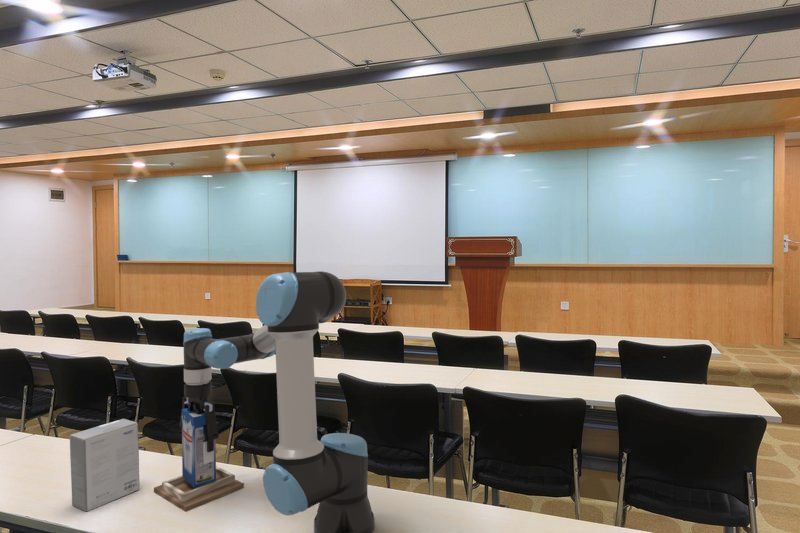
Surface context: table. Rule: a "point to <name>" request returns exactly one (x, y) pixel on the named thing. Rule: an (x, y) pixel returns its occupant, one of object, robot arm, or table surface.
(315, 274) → the robot arm
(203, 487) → the walnut board
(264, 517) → the table surface
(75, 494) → the hard drive box
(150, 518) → the table surface
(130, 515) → the table surface
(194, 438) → the milk carton
